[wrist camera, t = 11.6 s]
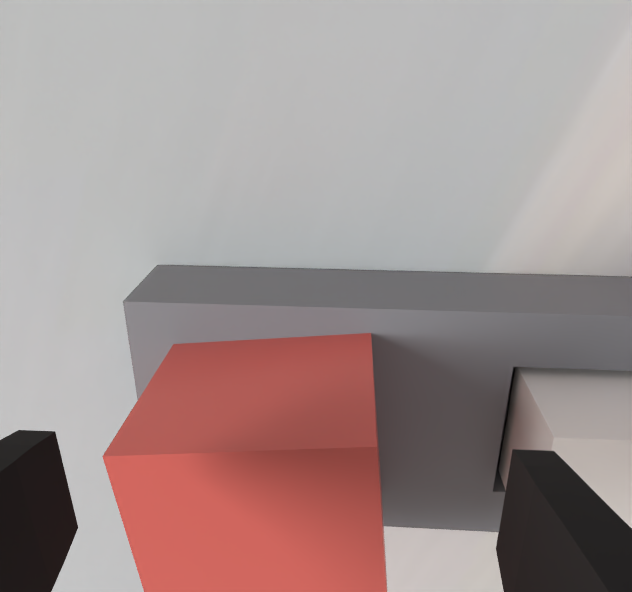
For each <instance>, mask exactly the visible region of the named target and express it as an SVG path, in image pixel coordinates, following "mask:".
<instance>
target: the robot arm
mask: <svg viewBox="0 0 632 592" xmlns="http://www.w3.org/2000/svg"><path fill="white" fill-rule="evenodd" d="M77 529H78V525H77V521H76V517H75V513H74V508H73V504H72V500H71V496H70V492H69V488H68V483H67V479H66V475H65V471H64V467H63V463H62V458H61V454H60V450H59V446H58V442H57V438H56V433H55V432H53V431H27V430H18V431H16V432H15V433H13V434H11V435H9V436H7V437H5V438H3V439H2V440H0V592H51V591H52V589H53V586H54V584H55V582H56V579H57V577H58V575H59V573H60V570H61V568H62V566H63V564H64V561H65V559H66V556H67V554H68V551H69V549H70V546H71V544H72V541H73V539H74V536H75V534H76V531H77ZM496 551H497V556H498V562H499V568H500V573H501V579H502V584H503V589H504V592H632V528H631V527H630V526H629V525H628V524H627V523H625V522H624V521H623V520H622V519H621V518H620V517H619V516H618V515H617V514H616V513H615V512H614V511H613V510H612V509H611V508H610V507H609V506H608V505H607V504H606V503H605V502H604V501H603V500H602V499H601V498H600V497H599V496H598V495H597V494H596V493H595V492H594V491H593V490H592V489H591V488H590V486H589V485H588V484H587V483H586V482H585V481H584V480H583V479H582V478H581V477H580V476H579V475H578V474H577V473H576V472H575V471H574V470H573V469H572V468H571V467H570V466H569V465H568V464H567V463H566V462H565V461H564V460H563V459H562V458H561V457H560V456H559V455H558V454H557V453H556V452H554V451H545V450H519V449H512V455H511V461H510V467H509V473H508V480H507V486H506V492H505V498H504V504H503V510H502V516H501V522H500V528H499V534H498V540H497V546H496Z"/></svg>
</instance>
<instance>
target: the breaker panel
mask: <svg viewBox="0 0 632 592" xmlns="http://www.w3.org/2000/svg"><path fill="white" fill-rule="evenodd" d="M123 305H124V311H125V318H126V325H127V331H128V338H129V345H130V351H131V358H132V365H133V371H134V378H135V385H136V391H137V398H138V399H139V398H140V396H141V395H142V393H143V392H144V390H145V388H146V387H147V385H148V384H149V382H150V380H151V379H152V377H153V376H154V374H155V372H156V371H157V369H158V368H159V366H160V365H161V363H162V361H163V360H164V358H165V357H166V355H167V353H168V352H169V350H170V349H171V347H172V345H173V344H183V343H201V342H219V341H236V340H254V339H272V338H289V337H307V336H325V335H343V334H360V333H371V340H372V355H373V370H374V385H375V400H376V416H377V431H378V446H379V461H380V476H381V491H382V509H383V526H392V527H411V528H430V529H450V530H469V531H488V532H499V528H500V522H501V516H502V510H503V504H504V498H505V492H506V490H505V487H504V484H503V481H502V479H501V476H500V473H499V470H498V469H499V463H500V457H501V451H502V445H503V439H504V433H505V427H506V421H507V415H508V409H509V403H510V397H511V391H512V385H513V379H514V373H515V367H533V368H562V369H591V370H620V371H632V277H617V276H577V275H536V274H496V273H456V272H416V271H376V270H336V269H295V268H255V267H215V266H175V265H157V266H156V267H155V268H154V269H153V270H152V271H151V272H150V273H149V274H148V275H147V277H146V278H145V279H144V280H143V281H142V282H141V283H140V284H139V285H138V286H137V287H136V288H135V289H134V290H133V291H132V292H131V294H130V295H129V296H128V297H127V298H126V299H125V300H124V301H123Z"/></svg>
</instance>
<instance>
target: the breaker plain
mask: <svg viewBox="0 0 632 592" xmlns="http://www.w3.org/2000/svg"><path fill="white" fill-rule="evenodd" d="M512 449H519V450H545V451H554V452H556V453H557V454H558V455H559V456H560V457H561V458H562V459H563V460H564V461H565V462H566V463H567V464H568V465H569V466H570V467H571V468H572V469H573V470H574V471H575V472H576V473H577V474H578V475H579V476H580V477H581V478H582V479H583V480H584V481H585V482H586V483H587V484H588V485H589V486H590V488H591V489H592V490H593V491H594V492H595V493H596V494H597V495H598V496H599V497H600V498H601V499H602V500H603V501H604V502H605V503H606V504H607V505H608V506H609V507H610V508H611V509H612V510H613V511H614V512H615V513H616V514H617V515H618V516H619V517H620V518H621V519H622V520H623V521H624V522H625V523H627V524H628V525H629V526H630V527H631V528H632V371H620V370H591V369H562V368H533V367H515V373H514V379H513V385H512V391H511V397H510V403H509V409H508V415H507V421H506V427H505V433H504V439H503V445H502V451H501V457H500V463H499V469H498V470H499V473H500V476H501V479H502V481H503V484H504V487H505V490H506V486H507V480H508V473H509V467H510V461H511V455H512Z"/></svg>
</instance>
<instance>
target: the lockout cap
mask: <svg viewBox="0 0 632 592" xmlns="http://www.w3.org/2000/svg"><path fill="white" fill-rule="evenodd" d="M103 459H104V463H105V466H106V469H107V472H108V476H109V479H110V482H111V485H112V489H113V492H114V495H115V498H116V502H117V505H118V508H119V511H120V515H121V518H122V521H123V524H124V527H125V531H126V534H127V537H128V540H129V544H130V547H131V550H132V553H133V557H134V560H135V563H136V566H137V570H138V573H139V576H140V579H141V583H142V586H143V589H144V592H387V579H386V561H385V544H384V526H383V509H382V491H381V476H380V461H379V446H378V431H377V416H376V400H375V385H374V370H373V355H372V340H371V333H360V334H343V335H325V336H307V337H289V338H272V339H254V340H236V341H219V342H201V343H183V344H173V345H172V347H171V349H170V350H169V352H168V353H167V355H166V357H165V358H164V360H163V361H162V363H161V365H160V366H159V368H158V369H157V371H156V372H155V374H154V376H153V377H152V379H151V380H150V382H149V384H148V385H147V387H146V388H145V390H144V392H143V393H142V395H141V396H140V398H139V399H138V401H137V403H136V404H135V406H134V407H133V409H132V411H131V412H130V414H129V415H128V417H127V419H126V420H125V422H124V423H123V425H122V426H121V428H120V430H119V431H118V433H117V434H116V436H115V438H114V439H113V441H112V442H111V444H110V446H109V447H108V449H107V450H106V452H105V453H104V455H103Z"/></svg>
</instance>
